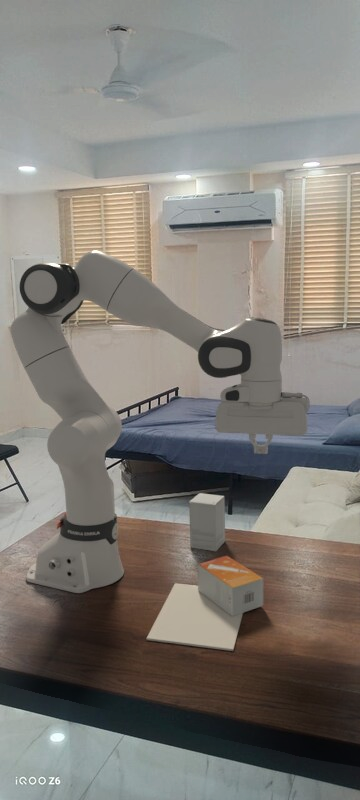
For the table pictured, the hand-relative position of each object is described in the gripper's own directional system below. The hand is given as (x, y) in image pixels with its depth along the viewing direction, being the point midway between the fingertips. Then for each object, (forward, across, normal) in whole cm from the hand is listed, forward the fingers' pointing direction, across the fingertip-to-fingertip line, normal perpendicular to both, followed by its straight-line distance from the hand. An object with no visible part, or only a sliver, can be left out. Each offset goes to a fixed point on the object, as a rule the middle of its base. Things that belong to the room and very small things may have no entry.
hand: (260, 453), depth 131 cm
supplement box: (+29, +15, -14) cm, 36 cm away
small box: (+26, 0, +18) cm, 31 cm away
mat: (+29, +10, +20) cm, 37 cm away
